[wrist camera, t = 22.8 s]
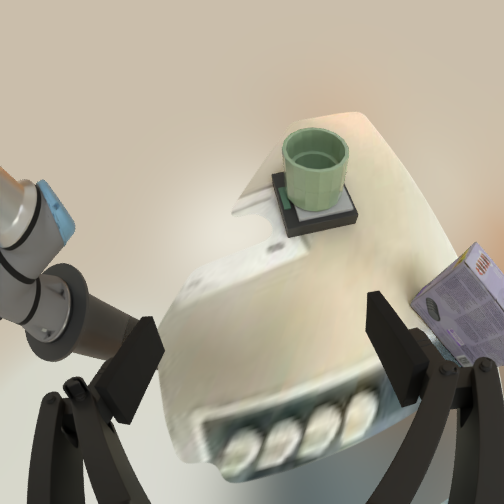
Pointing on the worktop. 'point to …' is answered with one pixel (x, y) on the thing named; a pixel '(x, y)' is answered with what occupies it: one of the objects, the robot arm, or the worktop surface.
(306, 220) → the scale
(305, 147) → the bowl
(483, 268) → the cake pan box
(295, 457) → the worktop surface
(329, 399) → the worktop surface
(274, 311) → the worktop surface
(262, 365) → the worktop surface
